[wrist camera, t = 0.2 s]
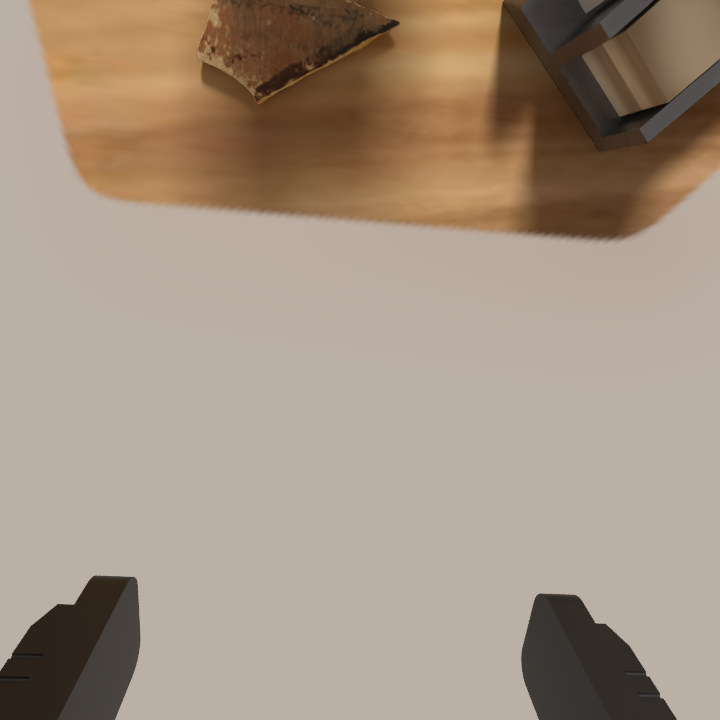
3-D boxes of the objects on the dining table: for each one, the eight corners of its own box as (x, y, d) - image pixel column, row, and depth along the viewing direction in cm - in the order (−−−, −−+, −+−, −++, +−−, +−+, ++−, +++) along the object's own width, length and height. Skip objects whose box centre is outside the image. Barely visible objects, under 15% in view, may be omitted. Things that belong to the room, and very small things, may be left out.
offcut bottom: (619, 116, 34) (642, 110, 31) (581, 55, 33) (602, 44, 30) (778, -20, 32) (814, -38, 30) (744, -89, 31) (779, -114, 29)
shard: (397, 30, 33) (401, 20, 32) (353, 148, 35) (354, 145, 33) (234, -51, 31) (228, -66, 30) (196, 78, 33) (189, 71, 32)
